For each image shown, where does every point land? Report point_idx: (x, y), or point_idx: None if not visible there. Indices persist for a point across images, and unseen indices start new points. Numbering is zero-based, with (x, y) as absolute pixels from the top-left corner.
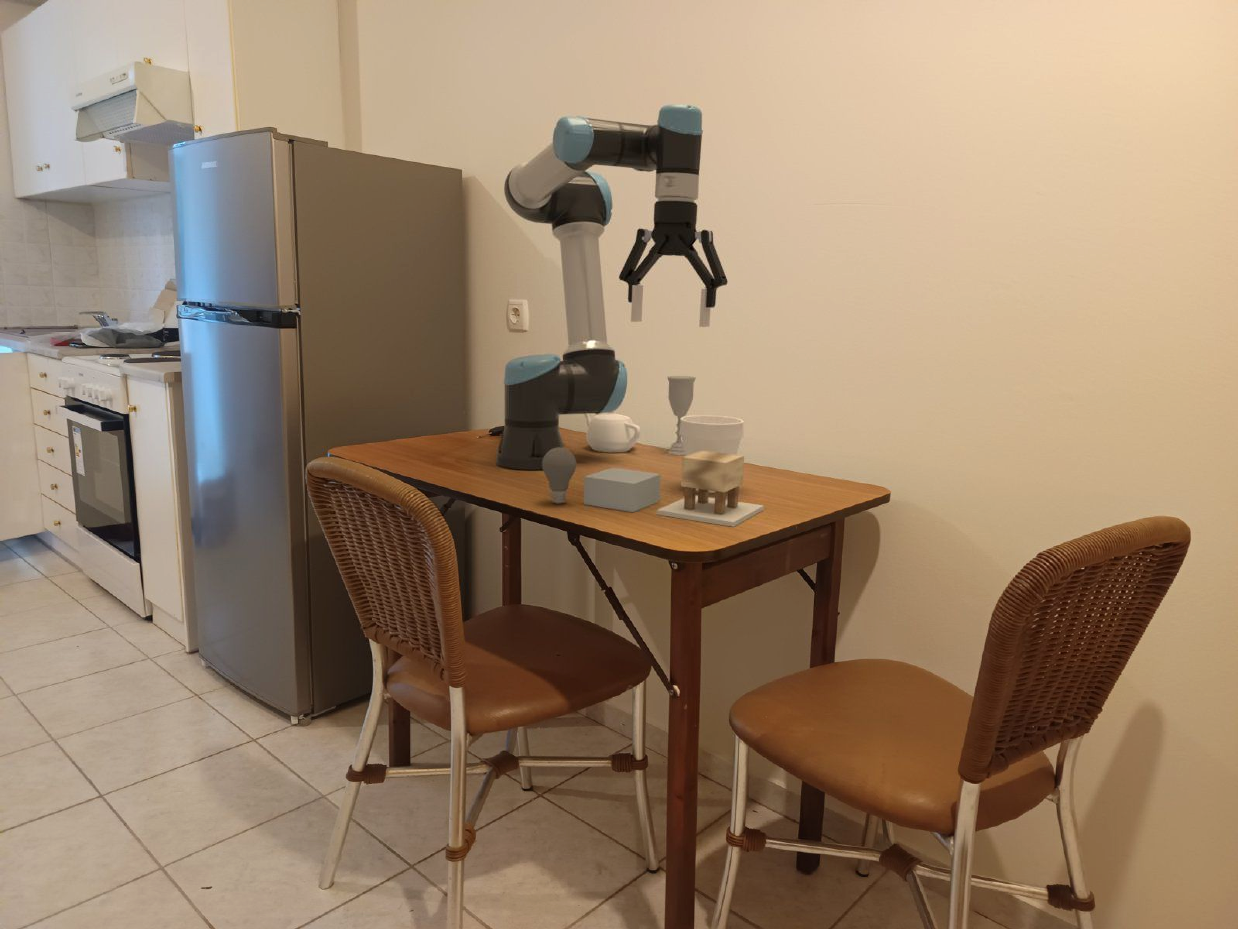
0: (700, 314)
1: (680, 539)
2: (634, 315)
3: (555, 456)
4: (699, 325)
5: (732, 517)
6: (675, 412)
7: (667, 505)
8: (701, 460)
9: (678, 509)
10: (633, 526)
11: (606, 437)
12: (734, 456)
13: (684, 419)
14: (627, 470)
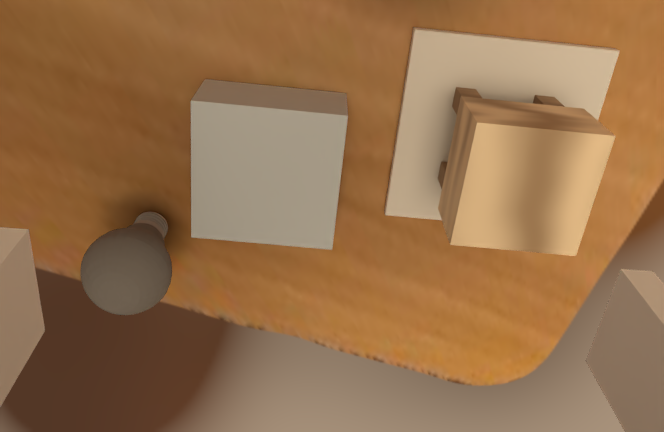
0: (627, 428)
1: (479, 337)
2: (22, 364)
3: (131, 314)
4: (590, 367)
5: None
6: None
7: (393, 168)
8: (506, 249)
9: (427, 189)
10: (374, 304)
11: None
12: (587, 160)
13: None
14: (245, 115)
